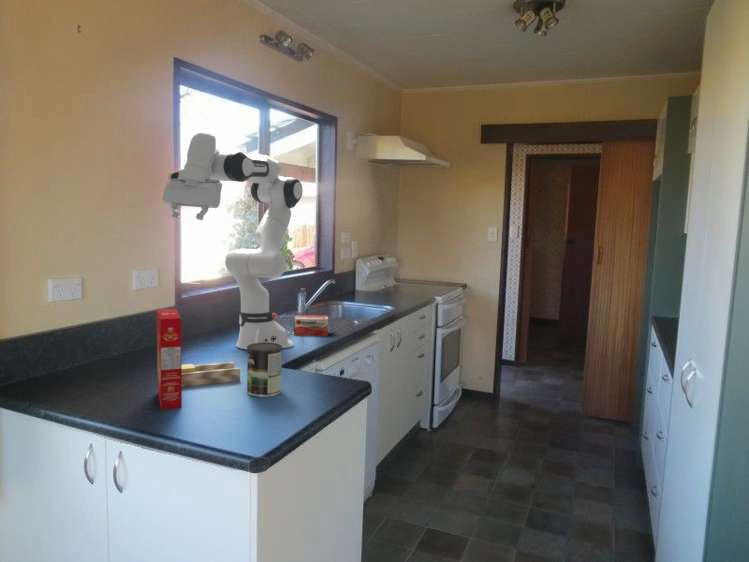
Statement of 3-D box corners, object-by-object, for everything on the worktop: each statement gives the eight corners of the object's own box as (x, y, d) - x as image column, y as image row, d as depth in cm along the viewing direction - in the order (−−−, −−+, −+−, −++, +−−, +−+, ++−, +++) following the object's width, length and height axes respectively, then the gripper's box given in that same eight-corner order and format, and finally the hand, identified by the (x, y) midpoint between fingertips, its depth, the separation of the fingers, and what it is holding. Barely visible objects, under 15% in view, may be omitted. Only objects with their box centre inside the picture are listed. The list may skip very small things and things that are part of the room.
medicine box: (293, 335, 251) (293, 318, 250) (294, 332, 259) (295, 314, 259) (328, 336, 253) (328, 318, 252) (328, 332, 261) (328, 315, 260)
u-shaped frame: (233, 373, 190) (233, 359, 190) (240, 380, 182) (240, 366, 182) (170, 379, 181) (170, 364, 180) (174, 387, 173) (174, 372, 172)
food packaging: (157, 393, 167) (156, 309, 164) (176, 391, 169) (175, 309, 166) (161, 410, 154) (160, 319, 151) (181, 407, 156) (181, 318, 153)
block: (192, 379, 182) (192, 363, 182) (195, 383, 178) (195, 367, 177) (176, 380, 180) (176, 365, 179) (178, 385, 175) (178, 369, 175)
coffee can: (250, 398, 165) (250, 351, 164) (244, 388, 175) (244, 343, 173) (284, 395, 169) (285, 349, 168) (277, 385, 179) (278, 341, 177)
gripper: (228, 183, 189) (219, 223, 187) (176, 181, 195) (167, 219, 193) (217, 176, 183) (208, 217, 181) (164, 174, 189) (155, 213, 187)
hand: (187, 218), depth 187 cm, fingers open, 8 cm apart
